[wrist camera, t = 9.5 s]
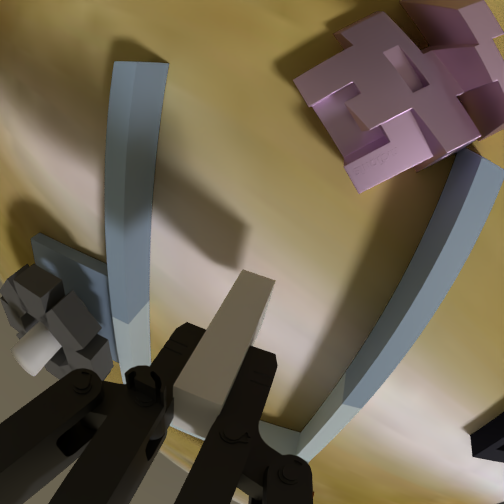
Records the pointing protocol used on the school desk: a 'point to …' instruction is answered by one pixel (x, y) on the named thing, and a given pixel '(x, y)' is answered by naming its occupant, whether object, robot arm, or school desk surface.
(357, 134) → the letters
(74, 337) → the wheel
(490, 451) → the black laptop
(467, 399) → the school desk surface
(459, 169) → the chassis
